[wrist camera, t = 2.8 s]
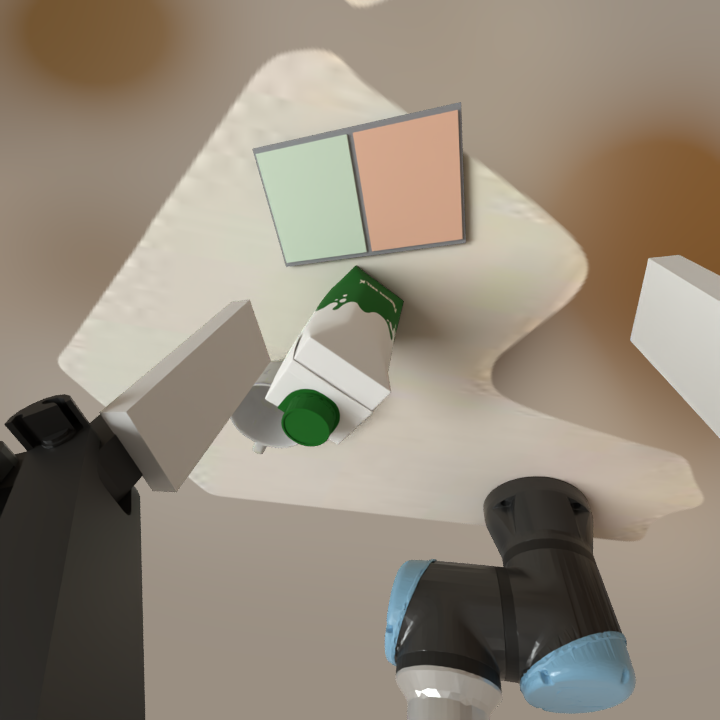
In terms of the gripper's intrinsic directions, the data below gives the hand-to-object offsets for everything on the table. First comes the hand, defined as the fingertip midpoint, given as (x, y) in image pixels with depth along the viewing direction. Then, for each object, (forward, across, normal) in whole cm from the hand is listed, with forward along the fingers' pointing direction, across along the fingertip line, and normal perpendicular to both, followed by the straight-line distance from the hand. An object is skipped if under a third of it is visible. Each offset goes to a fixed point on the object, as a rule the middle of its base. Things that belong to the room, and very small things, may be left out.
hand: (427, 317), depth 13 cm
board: (+28, +7, -1) cm, 29 cm away
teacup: (+29, +23, +23) cm, 43 cm away
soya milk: (+28, +9, +11) cm, 32 cm away
